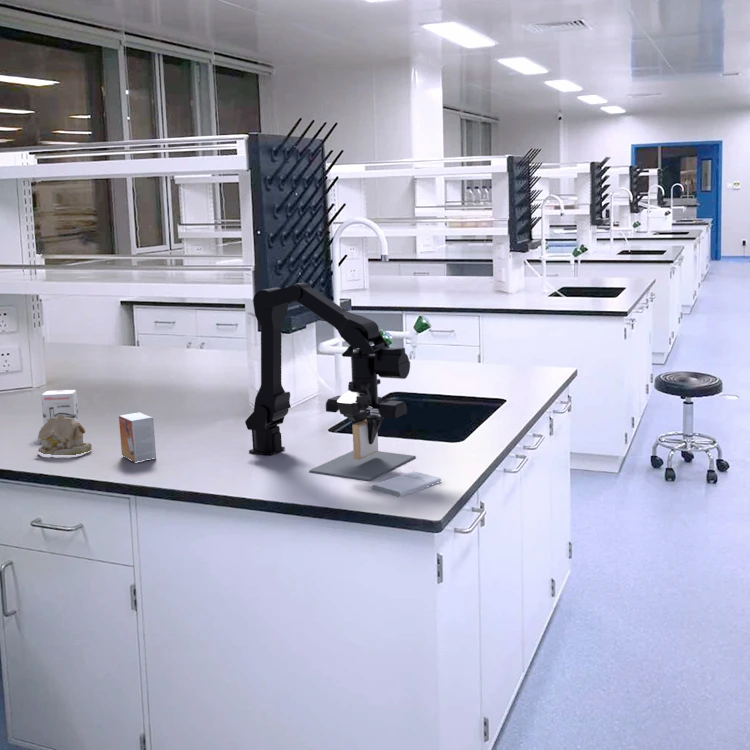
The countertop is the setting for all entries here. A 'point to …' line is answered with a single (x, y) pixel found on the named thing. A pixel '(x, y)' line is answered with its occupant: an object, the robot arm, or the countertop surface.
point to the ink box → (59, 404)
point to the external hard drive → (406, 483)
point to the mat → (362, 465)
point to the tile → (363, 441)
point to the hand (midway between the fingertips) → (367, 443)
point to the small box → (137, 436)
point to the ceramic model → (62, 437)
